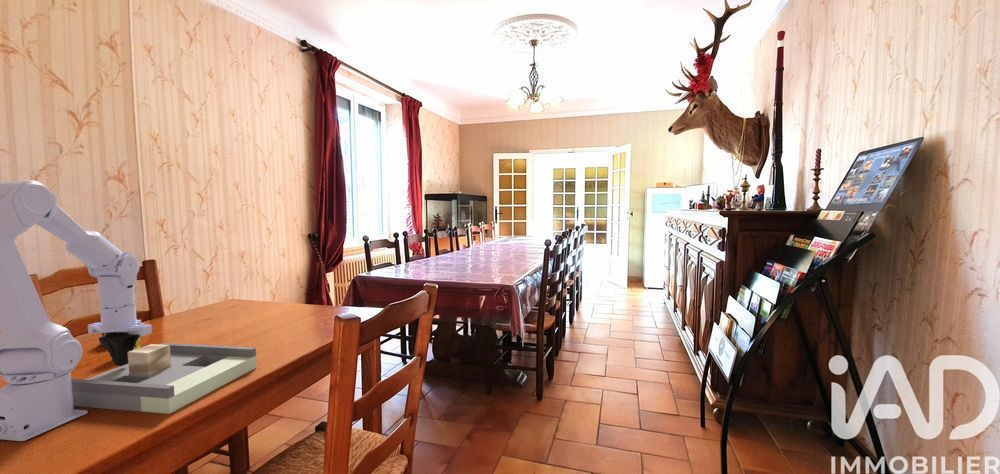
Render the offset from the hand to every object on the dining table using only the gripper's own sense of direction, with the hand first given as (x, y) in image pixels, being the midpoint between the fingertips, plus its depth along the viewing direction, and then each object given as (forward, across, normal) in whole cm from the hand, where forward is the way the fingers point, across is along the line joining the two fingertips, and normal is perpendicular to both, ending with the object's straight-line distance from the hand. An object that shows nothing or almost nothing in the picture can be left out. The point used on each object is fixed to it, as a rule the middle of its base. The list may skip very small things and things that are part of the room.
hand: (122, 364), depth 89 cm
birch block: (+1, -7, 0) cm, 7 cm away
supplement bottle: (+4, +15, -13) cm, 20 cm away
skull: (+4, +31, -23) cm, 39 cm away
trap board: (+4, -11, 0) cm, 12 cm away
